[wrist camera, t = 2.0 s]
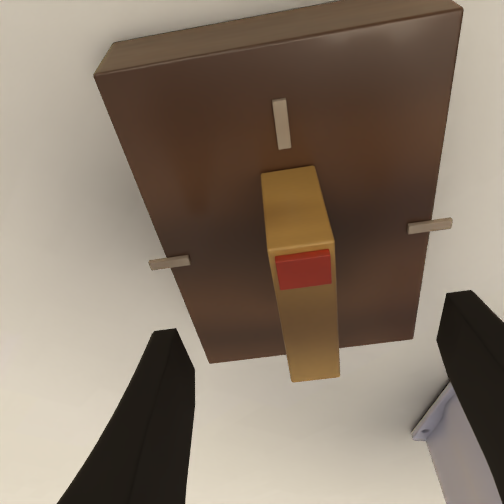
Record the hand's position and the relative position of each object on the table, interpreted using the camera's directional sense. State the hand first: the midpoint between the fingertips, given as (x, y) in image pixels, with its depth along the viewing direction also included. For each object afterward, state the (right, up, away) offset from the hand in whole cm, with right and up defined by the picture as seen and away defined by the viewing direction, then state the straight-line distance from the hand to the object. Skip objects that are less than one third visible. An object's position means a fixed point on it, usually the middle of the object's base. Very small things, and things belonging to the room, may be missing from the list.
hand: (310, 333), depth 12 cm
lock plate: (0, +4, +5) cm, 6 cm away
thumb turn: (0, +2, +3) cm, 4 cm away
